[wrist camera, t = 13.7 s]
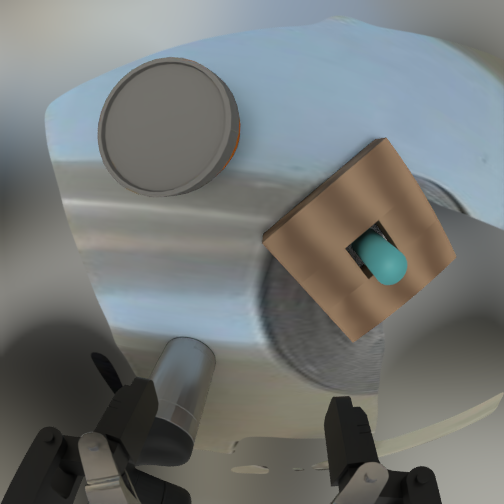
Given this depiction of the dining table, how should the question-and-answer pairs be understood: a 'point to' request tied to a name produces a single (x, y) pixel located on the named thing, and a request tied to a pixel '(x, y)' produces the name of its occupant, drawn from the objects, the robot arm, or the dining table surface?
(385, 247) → the peg
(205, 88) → the reusable coffee cup
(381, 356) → the dining table surface
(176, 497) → the robot arm
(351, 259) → the socket block
